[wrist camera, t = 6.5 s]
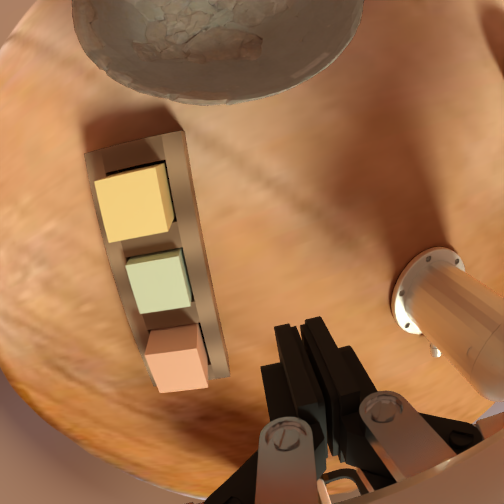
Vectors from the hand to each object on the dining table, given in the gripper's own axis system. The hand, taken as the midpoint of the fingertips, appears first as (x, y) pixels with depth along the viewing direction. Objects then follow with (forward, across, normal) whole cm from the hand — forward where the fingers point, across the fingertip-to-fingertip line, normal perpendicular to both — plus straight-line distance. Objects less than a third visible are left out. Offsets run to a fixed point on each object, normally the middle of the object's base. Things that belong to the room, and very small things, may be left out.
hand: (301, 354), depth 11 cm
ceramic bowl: (+23, -1, -22) cm, 31 cm away
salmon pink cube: (+20, +10, +11) cm, 25 cm away
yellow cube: (+20, +9, -5) cm, 22 cm away
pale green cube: (+22, +10, +3) cm, 25 cm away
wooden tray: (+23, +10, +3) cm, 25 cm away
